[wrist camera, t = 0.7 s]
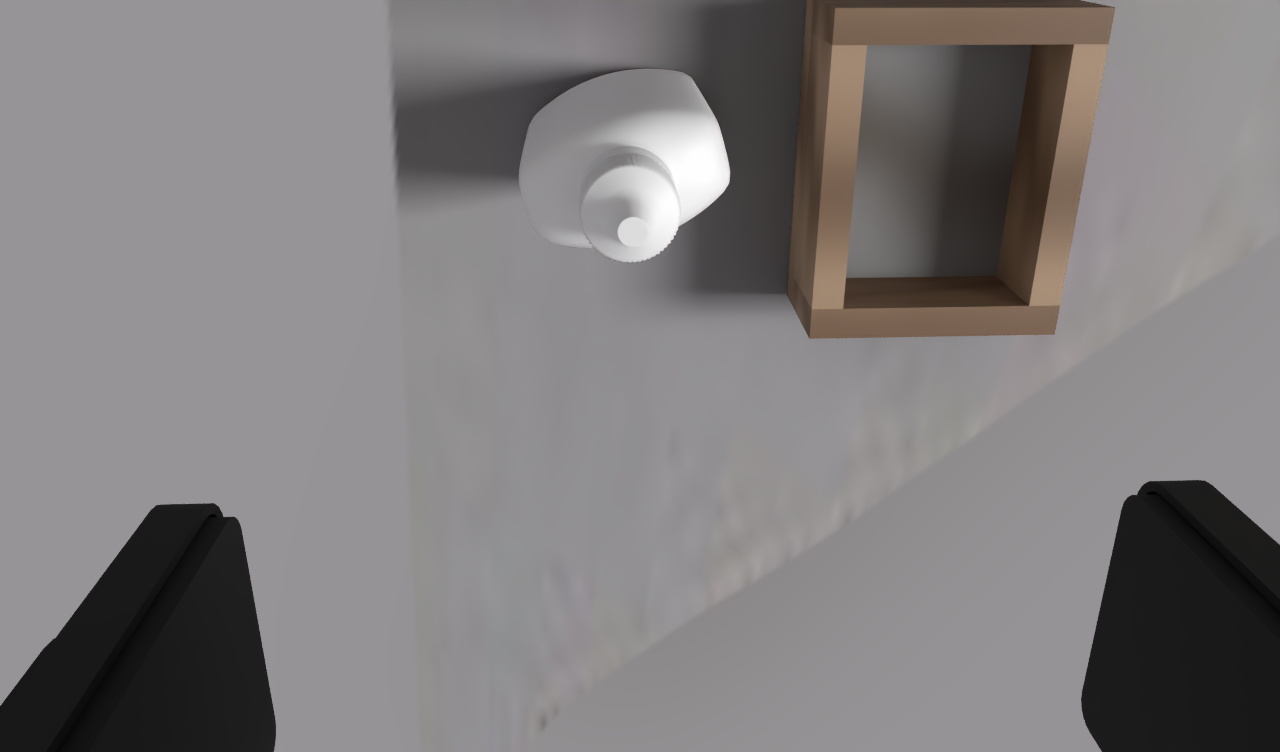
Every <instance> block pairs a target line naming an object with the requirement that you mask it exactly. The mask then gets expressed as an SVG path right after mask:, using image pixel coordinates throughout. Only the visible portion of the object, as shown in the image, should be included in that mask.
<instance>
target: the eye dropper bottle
mask: <svg viewBox="0 0 1280 752" xmlns="http://www.w3.org/2000/svg"><path fill="white" fill-rule="evenodd" d="M729 181H730V167H729V162H728V157H727V153H726V149H725V145H724V141H723V137H722V134H721V130H720V127H719V124H718V122H717V120H716V118H715V116H714V114H713V112H712V111H711V109H710V107H709V106H708V104H707V102H706V100H705V99H704V97H703V96H702V94H701V92H700V91H699V89H698V87H697V86H696V84H695V82H694V81H693V79H692V78H691V77H690V76H688V75H687V74H685V73H683V72H679V71H674V70H666V69H632V70H624V71H619V72H614V73H609V74H606V75H602V76H599V77H596V78H593V79H591V80H588V81H586V82H583V83H581V84H579V85H577V86H575V87H573V88H571V89H569V90H568V91H566V92H564V93H563V94H561V95H560V96H558V97H557V98H555V99H554V100H552V101H551V102H550V103H548V104H547V105H546V106H545V107H543V108H542V109H541V110H540V111H539V112H538V113H537V114H536V115H535V116H534V117H533V119H532V121H531V123H530V124H529V127H528V131H527V135H526V139H525V144H524V148H523V152H522V157H521V162H520V168H519V186H520V190H521V194H522V198H523V201H524V204H525V207H526V210H527V213H528V216H529V218H530V221H531V223H532V226H533V228H534V230H535V231H536V233H537V234H538V235H539V237H540V238H542V239H544V240H546V241H548V242H550V243H555V244H559V245H564V246H571V247H583V248H596V251H600V254H604V256H605V257H609V259H614V261H616V260H618V261H619V262H621V261H623V262H624V263H625V262H627V261H628V262H629V263H631V262H632V261H633V262H634V263H636V262H637V261H639V262H641V261H642V260H644V261H646V259H647V258H648V259H651V257H652V256H653V257H655V255H656V254H660V251H664V248H666V247H667V244H670V243H671V241H670V240H673V239H674V237H673V236H674V235H676V231H677V230H678V226H680V225H682V224H684V223H685V222H687V221H688V220H690V219H692V218H693V217H695V216H696V215H698V214H699V213H700V212H702V211H703V210H704V209H706V208H707V207H708V206H709V205H710V204H712V203H713V202H714V201H715V200H716V199H717V198H718V197H719V196H720V195H721V194H722V193H723V192H724V191H725V189H726V187H727V186H728V184H729Z"/></svg>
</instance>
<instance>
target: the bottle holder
mask: <svg viewBox="0 0 1280 752" xmlns="http://www.w3.org/2000/svg"><path fill="white" fill-rule="evenodd" d="M1114 11H1115V7H1110V6H1105V5H1100V4H1096V3H1091V2H1086V1H1081V0H807V4H806V19H805V34H804V49H803V64H802V79H801V94H800V109H799V124H798V139H797V154H796V169H795V184H794V199H793V214H792V229H791V244H790V259H789V274H788V290H787V296H788V298H789V300H790V302H791V304H792V305H793V307H794V309H795V311H796V313H797V315H798V317H799V319H800V321H801V323H802V325H803V327H804V329H805V331H806V333H807V335H808V337H809V338H869V337H929V336H988V335H1048V334H1055V329H1056V324H1057V319H1058V313H1059V308H1060V302H1061V297H1062V292H1063V286H1064V281H1065V275H1066V270H1067V265H1068V259H1069V254H1070V248H1071V243H1072V238H1073V232H1074V227H1075V221H1076V216H1077V211H1078V205H1079V200H1080V194H1081V189H1082V184H1083V178H1084V173H1085V167H1086V162H1087V157H1088V151H1089V146H1090V141H1091V135H1092V130H1093V124H1094V119H1095V114H1096V108H1097V103H1098V97H1099V92H1100V87H1101V81H1102V76H1103V70H1104V65H1105V60H1106V54H1107V49H1108V43H1109V38H1110V33H1111V27H1112V22H1113V16H1114Z"/></svg>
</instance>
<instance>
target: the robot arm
mask: <svg viewBox="0 0 1280 752" xmlns="http://www.w3.org/2000/svg"><path fill="white" fill-rule="evenodd" d="M1081 702H1082V712H1083V717H1084V720H1085V723H1086V726H1087V728H1088V730H1089V731H1090V733H1091V735H1092V736H1093V738H1094V740H1095V741H1096V743H1097V744H1098V746H1099V748H1100V749H1101V751H1102V752H1280V545H1279V544H1278V543H1277V542H1276V541H1275V540H1273V539H1272V538H1271V537H1270V536H1269V535H1268V534H1267V533H1265V532H1264V531H1263V530H1262V529H1261V528H1260V527H1259V526H1258V525H1256V524H1255V523H1254V522H1253V521H1252V520H1251V519H1250V518H1249V517H1247V516H1246V515H1245V514H1244V513H1243V512H1242V511H1241V510H1239V509H1238V508H1237V507H1236V506H1235V505H1234V504H1232V503H1231V501H1229V500H1228V499H1227V498H1226V497H1225V496H1224V495H1223V494H1221V493H1220V492H1219V491H1218V490H1217V489H1216V488H1215V487H1214V486H1212V485H1211V484H1209V483H1208V482H1206V481H1201V480H1187V481H1149V482H1147V483H1145V484H1144V485H1143V486H1142V487H1141V488H1140V490H1139V492H1138V494H1137V495H1131V496H1129V497H1128V498H1127V499H1126V500H1125V502H1124V504H1123V507H1122V510H1121V515H1120V520H1119V524H1118V529H1117V533H1116V538H1115V543H1114V547H1113V552H1112V556H1111V561H1110V566H1109V570H1108V575H1107V580H1106V584H1105V589H1104V593H1103V598H1102V602H1101V607H1100V612H1099V616H1098V621H1097V625H1096V630H1095V635H1094V639H1093V644H1092V649H1091V653H1090V658H1089V663H1088V668H1087V672H1086V676H1085V682H1084V685H1083V690H1082V698H1081ZM275 739H276V723H275V715H274V710H273V704H272V698H271V693H270V688H269V681H268V677H267V670H266V665H265V659H264V653H263V648H262V642H261V637H260V631H259V625H258V619H257V614H256V608H255V603H254V597H253V591H252V586H251V580H250V574H249V569H248V563H247V558H246V552H245V547H244V541H243V535H242V530H241V526H240V523H239V521H238V520H237V519H236V518H235V517H223V514H222V512H221V510H220V508H219V507H218V506H217V505H216V504H214V503H211V504H171V505H156V506H155V507H154V508H153V509H152V510H151V511H150V512H149V513H148V515H147V516H146V517H145V519H144V520H143V522H142V523H141V524H140V526H139V527H138V528H137V530H136V531H135V532H134V534H133V535H132V536H131V538H130V539H129V540H128V542H127V543H126V544H125V546H124V547H123V548H122V550H121V551H120V552H119V554H118V555H117V556H116V558H115V559H114V560H113V562H112V563H111V564H110V566H109V567H108V568H107V570H106V571H105V572H104V574H103V575H102V577H101V578H100V579H99V581H98V582H97V583H96V585H95V586H94V587H93V589H92V590H91V591H90V593H89V594H88V595H87V597H86V598H85V599H84V601H83V602H82V604H81V605H80V606H79V607H78V609H77V610H76V611H75V613H74V614H73V615H72V617H71V618H70V620H69V621H68V622H67V623H66V625H65V626H64V627H63V629H62V630H61V631H60V633H59V634H58V636H57V637H56V638H55V639H53V640H52V641H51V642H50V643H49V644H48V645H47V646H46V647H45V648H44V649H43V650H42V652H41V653H40V654H39V656H38V657H37V658H36V659H35V661H34V662H33V664H32V665H31V666H30V667H29V669H28V670H27V672H26V673H25V674H24V675H23V677H22V678H21V679H20V681H19V682H18V684H17V685H16V686H15V687H14V689H13V690H12V691H11V693H10V694H9V695H8V697H7V698H6V699H5V701H4V702H3V703H2V705H1V706H0V752H274V747H275Z"/></svg>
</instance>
